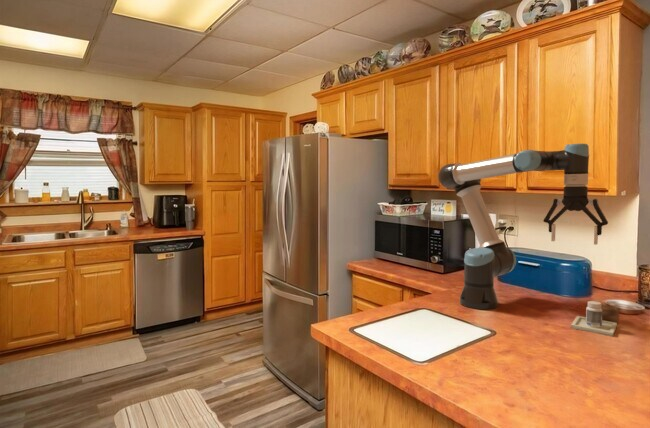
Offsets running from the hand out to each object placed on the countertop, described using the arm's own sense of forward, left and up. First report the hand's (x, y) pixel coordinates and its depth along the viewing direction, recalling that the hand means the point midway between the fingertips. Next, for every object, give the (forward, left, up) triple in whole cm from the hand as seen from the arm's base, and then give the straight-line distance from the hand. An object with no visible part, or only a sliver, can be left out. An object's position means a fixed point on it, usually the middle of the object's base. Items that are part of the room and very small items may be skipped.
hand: (573, 242), depth 145 cm
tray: (+8, -7, -29) cm, 31 cm away
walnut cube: (+11, +4, -29) cm, 31 cm away
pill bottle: (+8, -7, -28) cm, 30 cm away
